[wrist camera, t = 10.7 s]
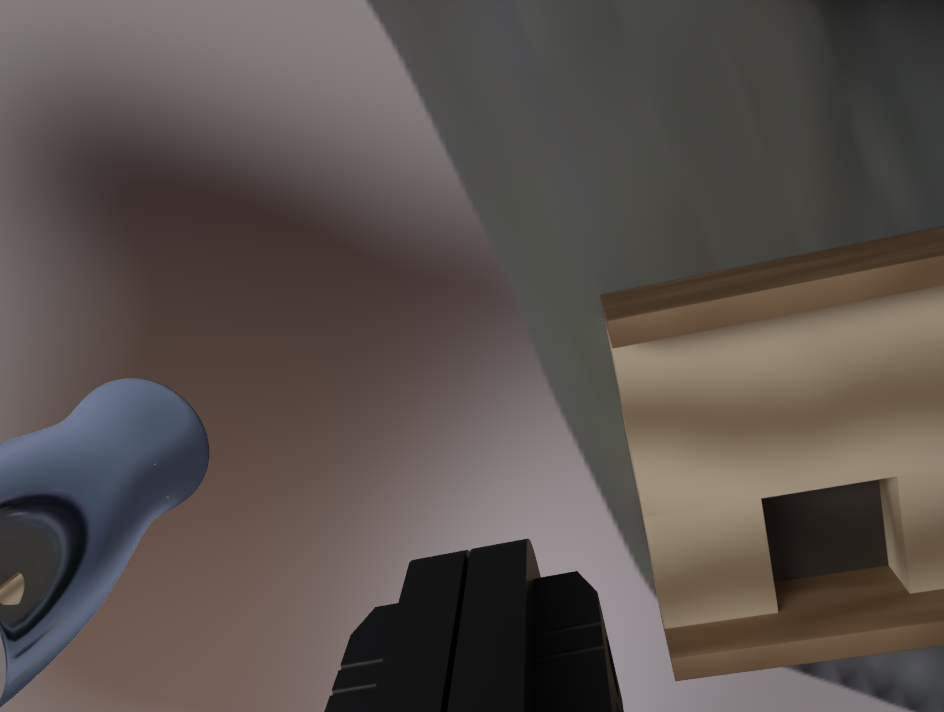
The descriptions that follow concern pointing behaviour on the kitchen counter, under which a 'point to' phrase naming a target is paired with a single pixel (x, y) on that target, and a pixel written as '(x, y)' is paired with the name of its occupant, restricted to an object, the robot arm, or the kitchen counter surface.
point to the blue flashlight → (85, 512)
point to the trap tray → (790, 453)
